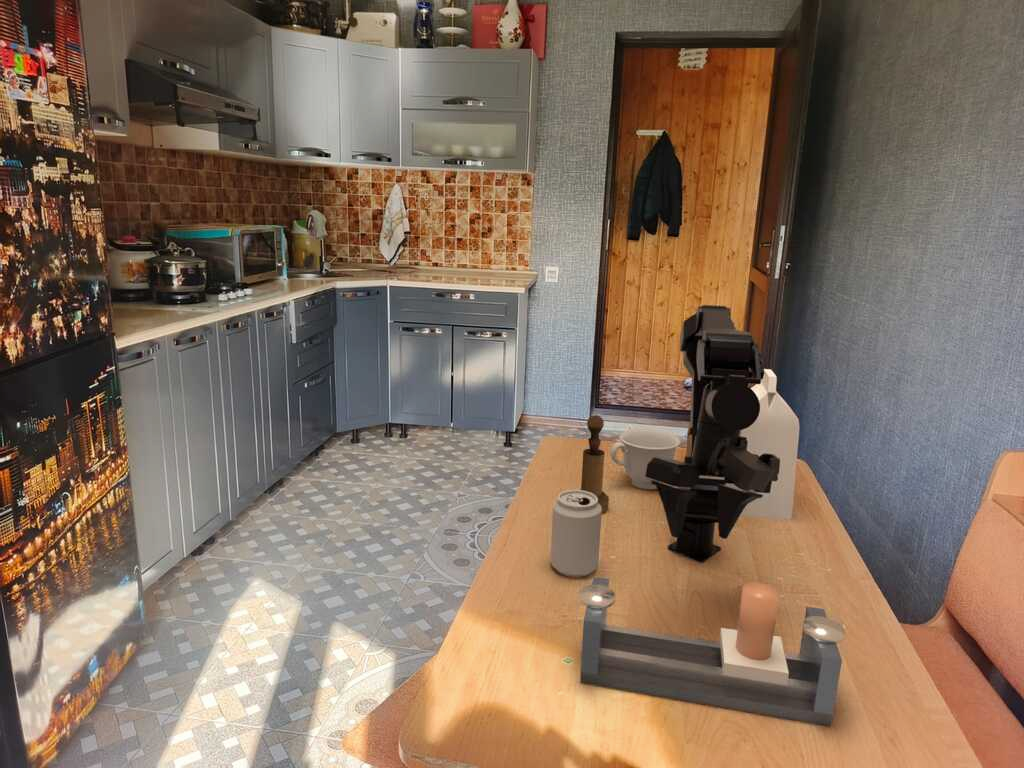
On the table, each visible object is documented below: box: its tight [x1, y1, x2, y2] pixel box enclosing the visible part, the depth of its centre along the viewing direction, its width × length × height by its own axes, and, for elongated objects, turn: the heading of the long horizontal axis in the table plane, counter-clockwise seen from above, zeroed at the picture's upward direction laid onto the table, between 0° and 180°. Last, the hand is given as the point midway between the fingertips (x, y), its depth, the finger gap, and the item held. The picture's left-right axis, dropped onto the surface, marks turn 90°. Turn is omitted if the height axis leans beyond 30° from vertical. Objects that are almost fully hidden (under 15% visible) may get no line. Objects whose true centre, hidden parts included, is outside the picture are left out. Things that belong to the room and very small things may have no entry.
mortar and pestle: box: [579, 414, 610, 515], centre depth 128 cm, size 7×6×18 cm
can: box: [550, 489, 602, 578], centre depth 108 cm, size 8×8×12 cm
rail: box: [578, 576, 846, 727], centre depth 84 cm, size 30×10×9 cm, turn 77°
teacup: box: [609, 427, 681, 490], centre depth 140 cm, size 12×15×10 cm
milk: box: [739, 368, 800, 521], centre depth 131 cm, size 12×12×26 cm
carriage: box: [719, 581, 789, 685], centre depth 82 cm, size 7×7×9 cm
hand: (699, 537), depth 95 cm, fingers open, 9 cm apart
